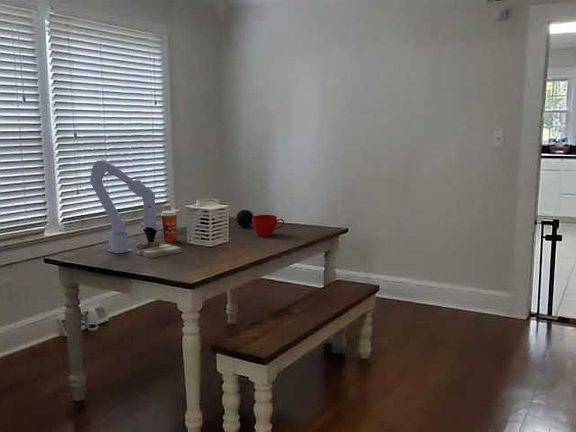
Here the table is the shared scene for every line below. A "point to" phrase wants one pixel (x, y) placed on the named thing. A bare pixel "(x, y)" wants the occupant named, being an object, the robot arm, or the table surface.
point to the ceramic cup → (265, 224)
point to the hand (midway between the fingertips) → (151, 243)
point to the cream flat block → (159, 250)
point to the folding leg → (147, 245)
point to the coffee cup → (169, 225)
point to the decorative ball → (244, 218)
